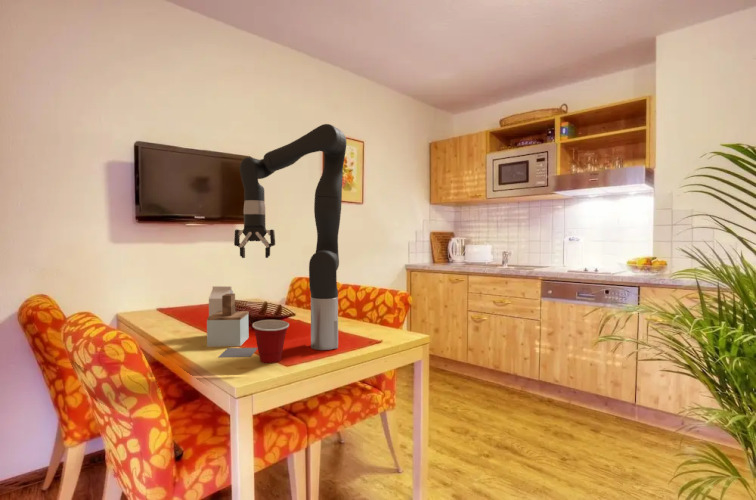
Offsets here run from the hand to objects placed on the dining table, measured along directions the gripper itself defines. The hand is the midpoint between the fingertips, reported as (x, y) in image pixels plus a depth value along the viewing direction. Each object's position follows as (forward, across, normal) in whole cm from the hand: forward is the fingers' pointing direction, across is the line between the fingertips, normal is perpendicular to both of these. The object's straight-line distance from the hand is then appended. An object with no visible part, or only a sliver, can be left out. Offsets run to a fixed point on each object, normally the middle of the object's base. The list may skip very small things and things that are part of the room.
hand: (255, 257), depth 145 cm
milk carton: (+30, +13, -4) cm, 33 cm away
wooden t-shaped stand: (+20, +8, +6) cm, 23 cm away
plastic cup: (+30, -11, +28) cm, 43 cm away
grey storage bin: (+30, +8, +6) cm, 32 cm away
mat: (+30, +1, +19) cm, 36 cm away
